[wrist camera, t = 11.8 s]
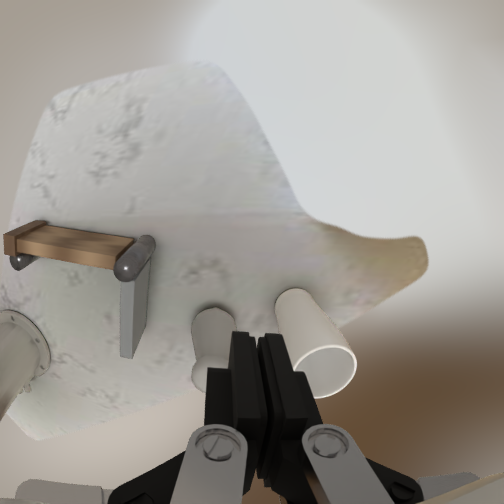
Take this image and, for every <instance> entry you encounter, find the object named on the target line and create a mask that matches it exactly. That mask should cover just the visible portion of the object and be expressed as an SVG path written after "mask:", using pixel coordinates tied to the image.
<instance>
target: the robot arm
mask: <svg viewBox="0 0 504 504" xmlns="http://www.w3.org/2000/svg"><path fill="white" fill-rule="evenodd" d="M49 364H50V353H49V349H48V346H47V343H46V341H45V339H44V337H43V336H42V334H41V333H40V331H39V330H38V329H37V328H36V326H35V325H34V324H33V323H32V322H31V321H30V320H28V319H27V318H26V317H25V316H23V315H21V314H19V313H17V312H14V311H10V310H7V311H2V312H0V421H1V419H2V418H3V416H4V415H5V413H6V412H7V410H8V409H9V407H10V406H11V404H12V403H13V401H14V400H15V398H16V397H17V395H18V394H21V393H22V392H23V387H24V390H25V392H31V387H30V384H29V382H30V381H31V379H32V378H33V377H37V376H40V375H42V374H44V373H45V371H46V370H47V368H48V367H49ZM255 470H256V471H257V477H258V479H264V487H271V489H272V490H273V491H274V492H276V493H277V494H279V498H280V503H281V504H504V472H503V473H498V474H494V475H491V476H487V477H485V478H481V479H480V478H479V477H478V476H477V475H475V474H473V473H471V472H463V473H456V474H448V475H440V476H432V477H421V478H419V479H418V480H417V481H415V480H414V479H412V478H410V477H408V476H406V475H403V474H401V473H399V472H396V471H394V470H392V469H390V468H387V467H385V466H383V465H381V464H378V463H376V462H374V461H372V460H370V459H367V458H365V457H364V455H363V454H362V452H361V451H360V449H359V448H358V446H357V444H356V443H355V441H354V440H353V438H352V437H351V436H350V434H349V433H348V432H346V431H345V430H344V429H342V428H340V427H337V426H335V425H329V424H323V422H322V419H321V416H320V414H319V411H318V408H317V405H316V402H315V399H314V397H313V394H312V391H311V388H310V385H309V382H308V380H307V377H306V374H305V372H303V371H294V370H293V367H292V364H291V360H290V357H289V354H288V351H287V348H286V344H285V341H284V338H283V335H282V334H272V333H266V334H265V336H264V337H259V339H258V345H257V347H256V341H255V337H251V336H249V332H239V331H232V335H231V343H230V353H229V362H228V369H227V368H213V367H207V381H206V400H205V419H204V426H203V427H201V428H198V429H197V430H196V431H195V432H193V434H192V435H191V437H190V439H189V442H188V445H187V448H186V451H184V452H182V453H180V454H179V455H177V456H175V457H174V458H172V459H170V460H168V461H166V462H165V463H163V464H161V465H159V466H157V467H156V468H154V469H152V470H150V471H148V472H146V473H144V474H143V475H140V476H139V477H136V478H135V479H133V480H131V481H129V482H126V483H124V484H123V485H121V486H119V487H118V488H116V489H115V490H107V489H102V488H101V486H88V485H76V484H66V483H58V482H51V481H44V480H37V479H36V480H35V479H34V480H33V479H30V480H28V481H25V482H23V483H22V484H21V485H20V486H19V487H18V488H17V492H16V495H15V499H9V498H0V504H241V502H242V496H243V495H244V494H246V493H247V492H248V491H249V490H250V487H251V483H252V480H253V477H254V473H255Z"/></svg>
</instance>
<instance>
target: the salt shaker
mask: <svg viewBox="0 0 504 504" xmlns="http://www.w3.org/2000/svg"><path fill="white" fill-rule="evenodd" d="M232 331H237V327H236V324H235V322H234V319H233V317H231V316H230V315H229V314H228V313H227V312H225V311H223V310H221V309H219V308H217V307H215V308H211V309H206V310H204V311H202V312H200V313H199V314H198V315H197V316H196V318H195V319H194V321H193V322H192V328H191V334H192V340H193V345H194V350H195V355H196V360H197V361H196V363H195V364H194V366H193V368H192V382H193V384H194V385H195V387H196V388H197V389H199V390H200V391H202V392H204V393H206V381H207V367H213V368H227V369H228V362H229V353H230V343H231V335H232Z"/></svg>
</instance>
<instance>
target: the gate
mask: <svg viewBox="0 0 504 504" xmlns="http://www.w3.org/2000/svg"><path fill="white" fill-rule="evenodd" d="M3 235H4V254H5V255H10V256H14V257H15V256H17V255H19V254H21V253H26V254H31V255H36V256H41V257H46V258H51V259H56V260H61V261H67V262H72V263H77V264H83V265H88V266H94V267H99V268H105V269H111V270H113V267H114V264H115V263H116V262H117V260H118V259H119V258H120V257H121V256H122V255H123V254H124V253H125V252H126V251H127V250H128V249H129V248H130V247H131V246H132V245H133V240H134V239H131V238H125V237H118V236H112V235H105V234H99V233H92V232H85V231H79V230H72V229H66V228H59V227H53V226H46V222H45V221H38V220H35V221H33V222H30V223H28V224H26V225H23V226H21V227H19V228H16V229H14V230H12V231H10V232H7V233H5V234H3Z"/></svg>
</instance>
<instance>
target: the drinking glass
mask: <svg viewBox="0 0 504 504" xmlns="http://www.w3.org/2000/svg"><path fill="white" fill-rule="evenodd" d="M275 314H276V317H277V322H278V329H279V334H282V335H283V338H284V341H285V344H286V348H287V351H288V354H289V357H290V360H291V364H292V367H293V370H294V371H303V372H305V374H306V377H307V380H308V382H309V385H310V388H311V391H312V394H313V397H314V398H323V397H327V396H330V395H333V394H335V393H337V392H339V391H340V390H342V389H343V388H344V387H345V386H346V385H347V384H348V383H349V382H350V381H351V379H352V378H353V376H354V374H355V372H356V367H357V361H356V357H355V355H354V353H353V351H352V349H351V347H350V346H349V344H348V342H347V340H346V339H345V337H344V336H343V335H342V333H341V332H340V330H339V329H338V328H337V327H336V325H335V324H334V323H333V322H332V321H331V320H330V318H329V317H328V316H327V315H326V314H325V313H324V311H323V310H322V309H321V308H320V307H319V306H318V304H317V303H316V302H315V301H314V299H313V297H312V296H311V295H310V294H309V293H308V292H307V291H305V290H303V289H299V288H294V289H289V290H287V291H285V292H283V293H282V294H281V295H280V296H279V297H278V299H277V301H276V303H275Z"/></svg>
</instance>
